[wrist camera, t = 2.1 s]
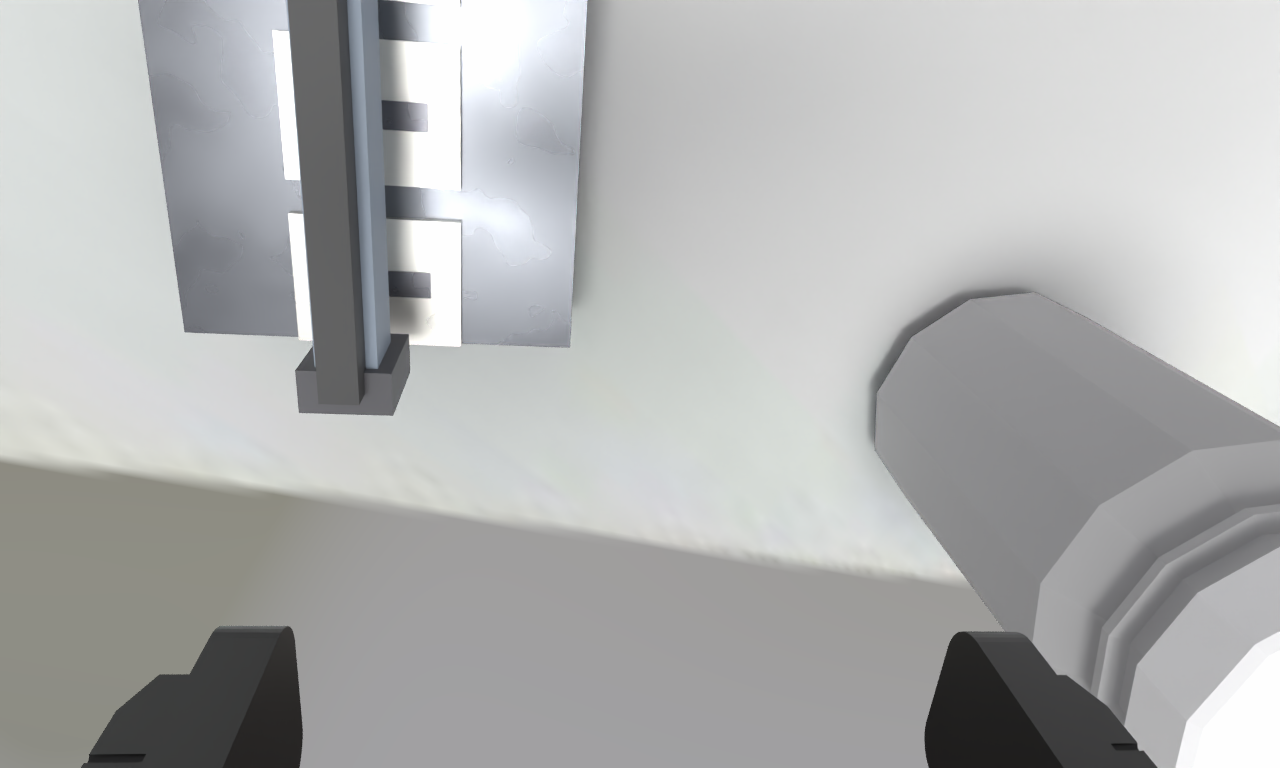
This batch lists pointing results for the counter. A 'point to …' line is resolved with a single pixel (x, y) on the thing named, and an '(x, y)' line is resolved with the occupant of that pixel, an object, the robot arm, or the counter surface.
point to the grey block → (413, 165)
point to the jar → (1102, 517)
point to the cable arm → (344, 210)
